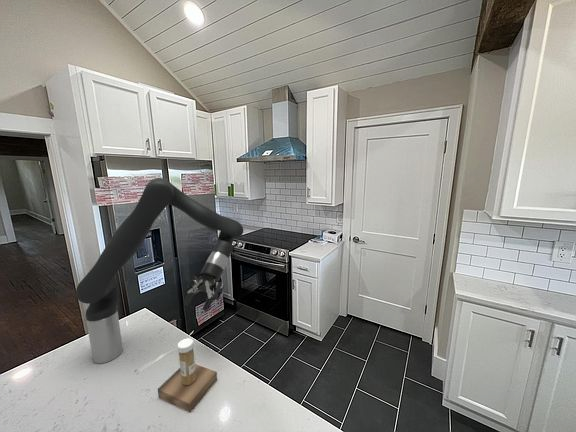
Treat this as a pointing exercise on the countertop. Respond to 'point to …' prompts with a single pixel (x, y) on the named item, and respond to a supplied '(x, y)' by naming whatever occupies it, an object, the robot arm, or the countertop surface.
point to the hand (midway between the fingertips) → (194, 307)
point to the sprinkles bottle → (187, 361)
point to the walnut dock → (187, 388)
